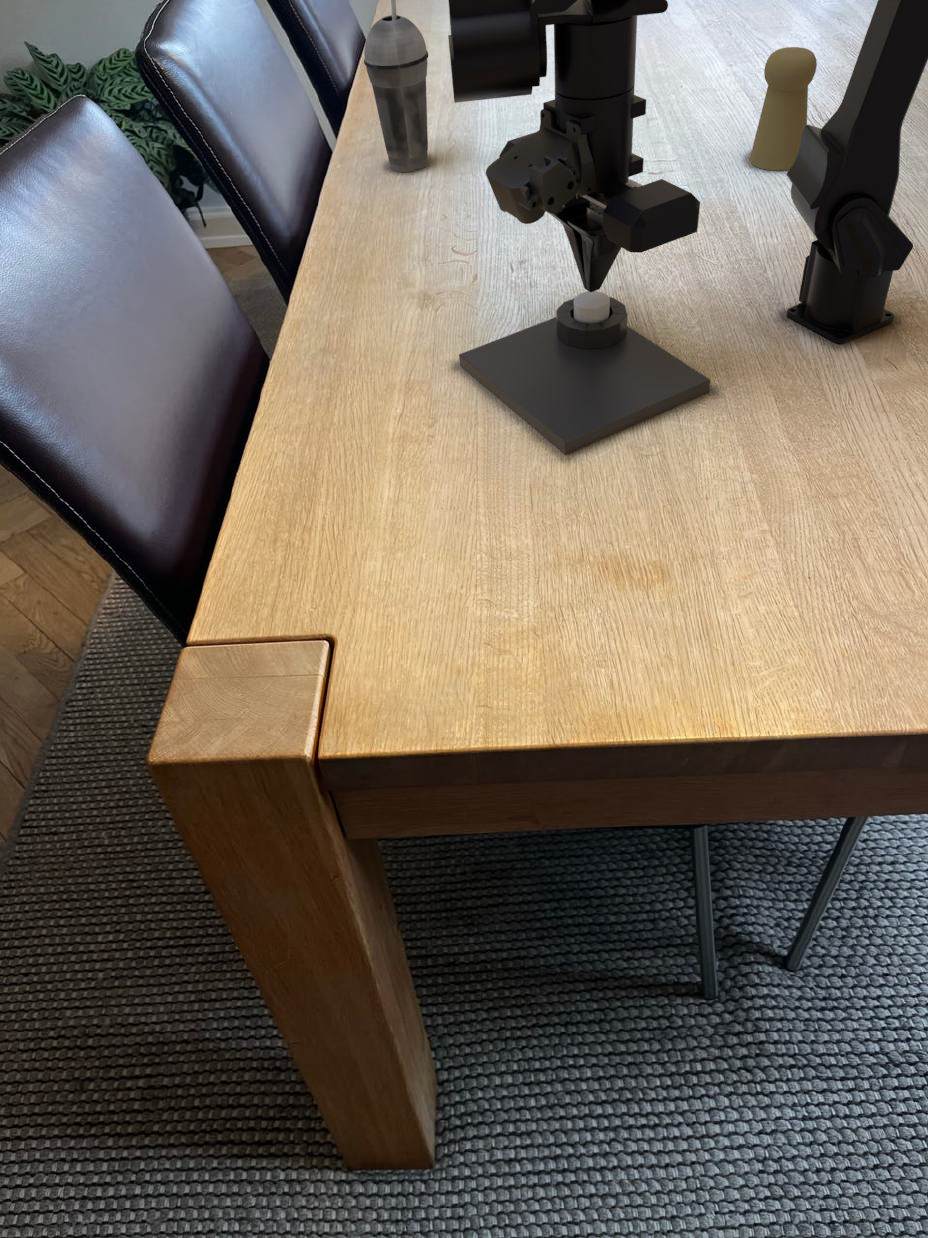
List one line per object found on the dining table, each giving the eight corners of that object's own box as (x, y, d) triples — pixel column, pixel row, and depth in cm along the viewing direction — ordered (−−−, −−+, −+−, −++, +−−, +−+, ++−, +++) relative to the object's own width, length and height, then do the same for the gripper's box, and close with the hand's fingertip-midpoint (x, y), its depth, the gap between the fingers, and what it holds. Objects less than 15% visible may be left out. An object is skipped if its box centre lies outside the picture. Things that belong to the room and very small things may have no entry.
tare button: (616, 317, 82) (616, 300, 81) (587, 328, 81) (587, 311, 80) (595, 303, 84) (595, 287, 83) (566, 314, 83) (566, 298, 82)
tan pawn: (806, 170, 106) (825, 58, 98) (749, 170, 107) (762, 60, 99) (804, 148, 110) (822, 39, 102) (749, 149, 111) (762, 41, 103)
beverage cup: (367, 172, 116) (337, -24, 101) (398, 149, 120) (373, -42, 106) (420, 179, 113) (397, -21, 98) (450, 155, 117) (432, -40, 103)
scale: (709, 392, 78) (713, 359, 76) (565, 455, 74) (564, 422, 71) (592, 314, 88) (592, 283, 86) (459, 366, 84) (456, 335, 82)
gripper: (434, 82, 73) (453, 278, 84) (576, 153, 61) (577, 369, 73) (556, 47, 77) (559, 240, 88) (714, 108, 65) (694, 321, 76)
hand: (592, 289), depth 81 cm, fingers closed
